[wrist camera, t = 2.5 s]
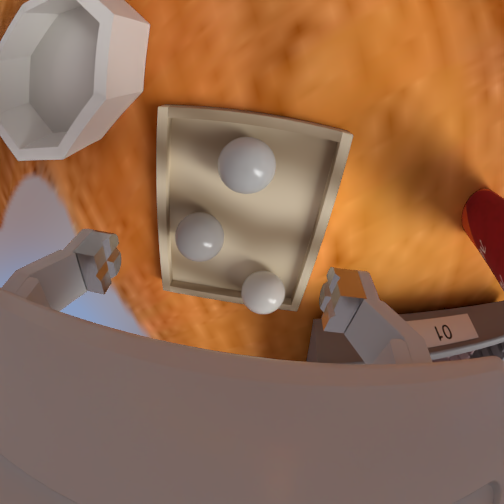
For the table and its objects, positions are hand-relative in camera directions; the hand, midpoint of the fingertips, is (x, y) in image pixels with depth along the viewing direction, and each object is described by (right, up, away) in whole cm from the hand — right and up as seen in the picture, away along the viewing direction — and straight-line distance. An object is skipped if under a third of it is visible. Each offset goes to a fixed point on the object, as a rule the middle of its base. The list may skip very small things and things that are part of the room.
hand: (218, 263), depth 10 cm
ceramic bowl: (-14, +16, +5) cm, 22 cm away
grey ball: (-3, +3, +14) cm, 14 cm away
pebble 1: (+1, +8, +10) cm, 12 cm away
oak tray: (0, +3, +13) cm, 14 cm away
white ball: (+2, -2, +17) cm, 17 cm away
